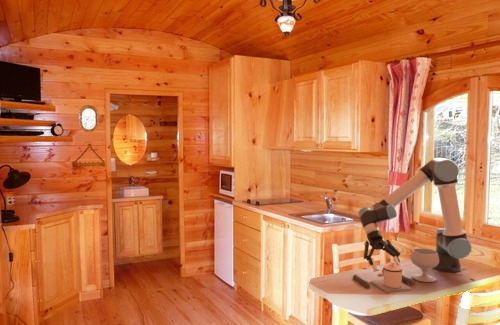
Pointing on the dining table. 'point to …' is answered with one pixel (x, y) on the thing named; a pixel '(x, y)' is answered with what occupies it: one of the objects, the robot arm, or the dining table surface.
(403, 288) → the slate tile
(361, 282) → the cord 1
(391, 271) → the teacup with lid
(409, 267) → the dining table surface
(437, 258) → the chalice
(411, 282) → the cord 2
